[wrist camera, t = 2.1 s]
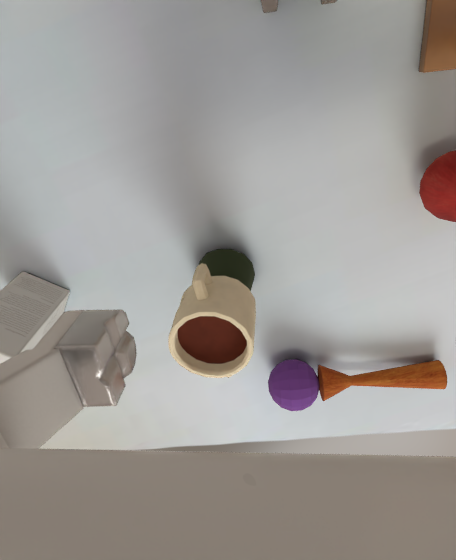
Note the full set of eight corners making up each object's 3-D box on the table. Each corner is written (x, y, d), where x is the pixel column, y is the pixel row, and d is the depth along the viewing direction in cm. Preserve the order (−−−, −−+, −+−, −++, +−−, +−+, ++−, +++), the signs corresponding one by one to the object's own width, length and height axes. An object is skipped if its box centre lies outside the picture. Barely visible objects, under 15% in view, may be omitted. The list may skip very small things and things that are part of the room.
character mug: (181, 232, 41) (147, 298, 30) (246, 219, 39) (236, 283, 28) (209, 315, 46) (188, 398, 35) (268, 306, 44) (266, 390, 33)
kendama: (444, 411, 45) (271, 422, 46) (424, 368, 49) (267, 380, 51) (458, 381, 41) (269, 394, 42) (435, 338, 45) (265, 351, 47)
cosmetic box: (17, 296, 47) (-54, 363, 37) (23, 269, 45) (-51, 332, 35) (64, 316, 48) (8, 386, 38) (72, 290, 46) (15, 358, 36)
